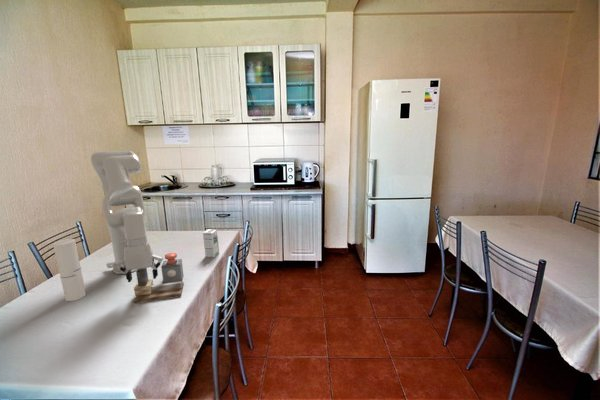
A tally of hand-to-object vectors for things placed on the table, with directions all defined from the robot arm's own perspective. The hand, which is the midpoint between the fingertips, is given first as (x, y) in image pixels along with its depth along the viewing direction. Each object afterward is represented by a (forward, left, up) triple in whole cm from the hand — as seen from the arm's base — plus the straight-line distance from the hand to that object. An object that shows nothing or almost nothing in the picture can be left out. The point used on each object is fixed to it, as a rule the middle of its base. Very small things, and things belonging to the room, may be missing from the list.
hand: (142, 279), depth 124 cm
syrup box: (+27, +36, -8) cm, 46 cm away
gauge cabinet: (+10, +11, -8) cm, 17 cm away
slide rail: (+6, 0, -8) cm, 10 cm away
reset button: (+10, +11, -1) cm, 15 cm away
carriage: (0, 0, -6) cm, 6 cm away
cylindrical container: (-29, +8, -8) cm, 31 cm away
